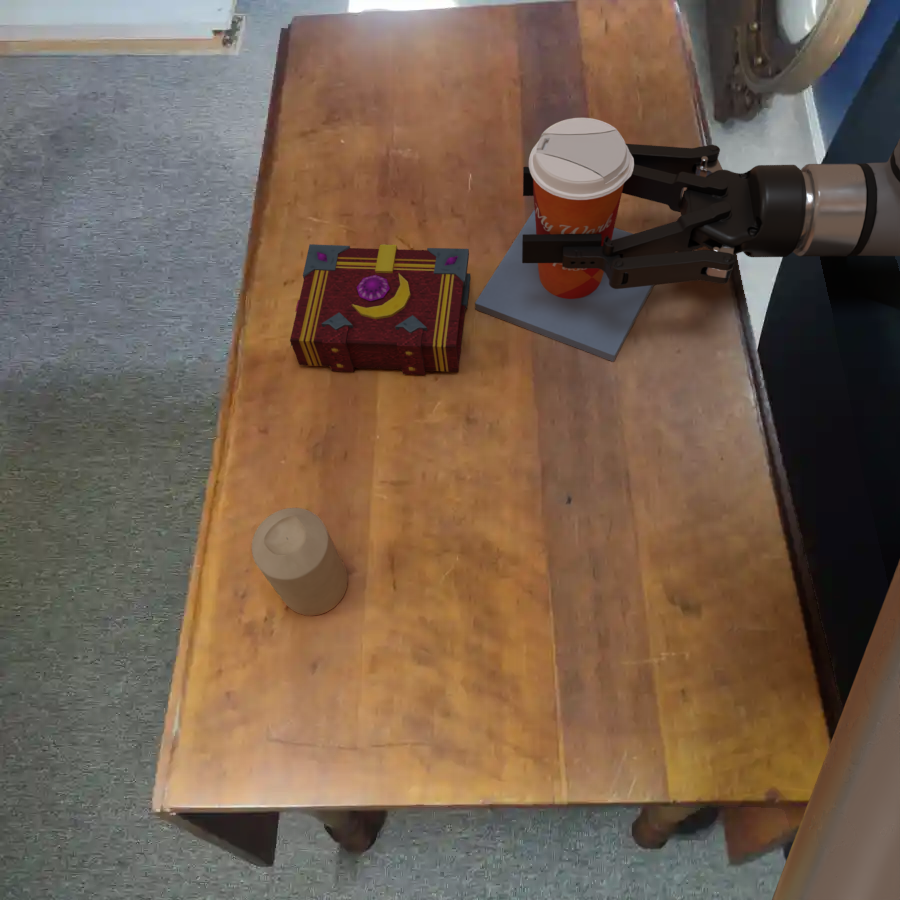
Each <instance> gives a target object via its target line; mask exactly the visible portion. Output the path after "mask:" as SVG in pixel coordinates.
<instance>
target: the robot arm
mask: <svg viewBox="0 0 900 900" xmlns="http://www.w3.org/2000/svg"><path fill="white" fill-rule="evenodd" d="M625 144H626V145H627V147H628V149H629V152H630V153H631V155H632V157H633V158H634V168H633V172H632V175H631V177H630V178H629V179H627V180H626V181H625V182H624V186H623V190H622V194H625V195H628V196H632V197H635V198H639V199H644V200H648V201H651V202H656V203H659V204H663V205H666V206H668V208H669V209H670V210H671V211H673V212H676V213H679V214H680V216H679V217H678V219H676V220H675V221H671V222H669V223H666V224H662V225H659V226H655V227H652V228H649V229H645V230H642V231H638V232H636V233H632V235H628V236H625V237H622V238H619V239H615V240H612V241H611V240H610V238H609V236H606V237H605V238H604V242H603V246H601V243H602V234H523V239H522V263H562V267H565V268H568V269H575V268H576V269H577V268H598V269H602V271H604V272H605V273H606V275H607V277H608V279H609V285H610V287H612V288H614V289H622V288H631V287H641V286H651V285H654V286H660V285H670V284H680V283H687V282H698V281H701V282H708V283H714V284H719V285H725V284H727V283H729V280H730V278H731V275H732V271H733V268H734V266H735V262H736V257H735V255H737V254H740V253H743V254H744V255H746V257H748V258H787V257H789V256H790V255H791V254H793V253H794V255H796V256H797V257H857V256H859V257H900V138H899V139H898V141H897V142H896V144H895V146H894V148H893V150H892V151H891V154H890V155H889V158H888V160H887V161H886V162H885V161H884V162H867V163H865V162H861V163H858V162H857V163H808V164H804V166H803V167H802V168H800V167H798V166H797V164H759V165H755V166H754V167H752V168H751V169H749V170H747V171H745V172H742V173H740V172H739V173H738V172H734V171H731V170H728V169H723V167H722V164H721V162H720V161H719V156H720V152H721V148H720V147H719V146H718V145H717V144H716V145H715V144H709V145H702V146H697V147H679V146H667V145H666V146H663V145H652V144H651V145H649V144H637V143H636V144H635V143H625ZM522 170H523V175H522V177H523V178H522V185H523V186H522V197H534V194H533V177H532V175H531V173H530V170H529V166H523V168H522ZM702 248H706V249H702ZM771 900H900V559H899V560H898V563H897V565H896V568H895V572H894V574H893V575H892V579H891V581H890V584H889V587H888V589H887V592H886V594H885V597H884V601H883V603H882V605H881V607H880V610H879V614H878V616H877V619H876V621H875V624H874V627H873V630H872V632H871V635H870V637H869V640H868V643H867V645H866V648H865V651H864V653H863V655H862V659H861V661H860V664H859V667H858V669H857V672H856V674H855V676H854V679H853V683H852V685H851V688H850V690H849V693H848V696H847V699H846V701H845V704H844V707H843V708H842V712H841V715H840V717H839V719H838V723H837V724H836V728H835V730H834V734H833V735H832V739H831V740H830V743H829V746H828V748H827V751H826V754H825V757H824V760H823V762H822V764H821V768H820V770H819V773H818V775H817V779H816V781H815V783H814V786H813V788H812V792H811V794H810V798H809V800H808V802H807V805H806V807H805V810H804V813H803V815H802V818H801V821H800V823H799V826H798V829H797V832H796V834H795V836H794V840H793V842H792V845H791V847H790V849H789V853H788V856H787V858H786V861H785V863H784V865H783V868H782V871H781V874H780V877H779V879H778V882H777V884H776V887H775V890H774V892H773V895H772V898H771Z"/></svg>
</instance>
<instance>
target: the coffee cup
mask: <svg viewBox="0 0 900 900" xmlns="http://www.w3.org/2000/svg"><path fill="white" fill-rule="evenodd" d="M626 144H627V143H626V141H625V139H624V138H623V136H622V134H621V133H620V131H618V129H617V128H616V127H615V126H613V125H611V124H610V123H608V122H605V121H603V120H599V119H596V118H592V117H573V118H566V119H564V120H561V121H557V122H556V123H553V124H552V125H550V126H549V127H547V128H546V129H544V131H543V132H542V133H541V135H540V137H539V140H538V141H537V142H536V144H535V145H534V146H533V148H532V149H531V152H530V154H529V157H528V167H529V170H530V173H531V175H532V177H533V194H534V196H533V207H534V209H535V221H536V234H602V243H601V246H603V242H604V238H605V237H606V236H609V238H610V240H612V235H613V231H614V228H615V226H616V221H617V216H618V213H619V207H620V204H621V199H622V195H623V193H622V190H623V186H624V182H625V181H626V180H627V179H629V178H630V177H631V175H632V172H633V168H634V158H633V157H632V155H631V153H630V152H629V149H628V147H627V145H626ZM538 270H539V277H540V281H541V283H542V285H543V287H544V288H545V289H546V290H547V291H548V292H550V293H551V294H553V295H555V296H557V297H560V298H565V299H577V298H582V297H585V296H587V295H589V294H591V293H592V292H593V291H595V290H596V289H597V287H598V286H599V284H600V282H601V280H602V277H603V273H604V271H602V269H598V268H577V269H576V268H575V269H568V268H565V267H562V263H538Z"/></svg>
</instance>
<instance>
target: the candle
mask: <svg viewBox="0 0 900 900" xmlns="http://www.w3.org/2000/svg"><path fill="white" fill-rule="evenodd" d="M334 543H335V542H334V541H333V540H332V537H331V535H330V533H329V531H328V528H327V526H326V525H325V523H324V522H323V520H322V519H321V518H320V517H319V516H318V515H317V514H316V513H314V512H313V511H311V510H308V509H306V508H303V507H287V508H283V509H279V510H277V511H275V512H273V513H271V514H270V515H268V516H267V517H265V519H264V520H263V521H262V522H261V523H260V524H259V525H258V527H257V528H256V530H255V532H254V534H253V537H252V540H251V555H252V559H253V561H254V564H255V566H257V569H259V571H260V572H261V573H262V574H263V576H264V577H265V579H266V580H267V581H268V582H269V584H270V585H271V587H272V588H273V590H274V591H275V592H276V593H277V595H278V596H279V597H280V599H281V600H282V602H283V603H284V604H285V605H286V606H287V608H289V609H290V610H292V611H293V612H295V613H296V614H300V615H303V616H307V617H308V616H310V617H311V616H312V617H313V616H319V615H323V614H326V613H327V612H329V611H331V610H333V609H334V608H335V607H336V606H337V605H339V603H340V602H341V601H342V599H343V598H344V596H345V594H346V591H347V587H348V572H347V568H346V566H345V563H344V562H343V559H342V557H341V555H340V553H339V552H338V549H337V547H336V545H335V544H334Z"/></svg>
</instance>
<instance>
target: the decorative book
mask: <svg viewBox="0 0 900 900" xmlns="http://www.w3.org/2000/svg"><path fill="white" fill-rule="evenodd" d="M469 257H470V248H454V247H453V248H450V247H449V248H448V247H445V248H444V247H427V248H426V249H399V248H398V245H397V244H384V243H383V244H380V243H379V248H365V247H364V248H363V247H362V248H361V247H360V248H359V247H357V248H356V247H351V246H350V245H340V244H339V245H338V244H314V243H313V244H311V243H309V245H308V250H307V254H306V258H305V263H304V267H303V272H302V277H303V281H302V287H301V290H300V295H299V299H298V300H297V302H296V307H295V311H294V312H295V315H294V316H295V317H294V321H293V325H292V330H291V334H290V339H289V342H290V346H289V347H290V348H291V347H292V349H293V352H294V355H295V357H296V359H297V362H298V364H299V366H309V367H310V366H312V367H329V368H330V371H331V372H344V373H345V372H346V373H347V372H349V373H354V372H355V368H356V369H357V368H358V369H379V370H382V369H383V370H384V369H385V370H401V373H402V375H416V376H426V372H428V371H429V372H448V373H449V372H450V373H459V369H460V360H461V351H462V341H463V335H464V334H463V333H464V326H465V325H464V323H465V316H466V310H468V305H469V296H470V290H471V289H470V288H471V281H472V280H471V279H472V278H471V277H472V275H471V272H469V273H468V267H469V260H470V259H469Z"/></svg>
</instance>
